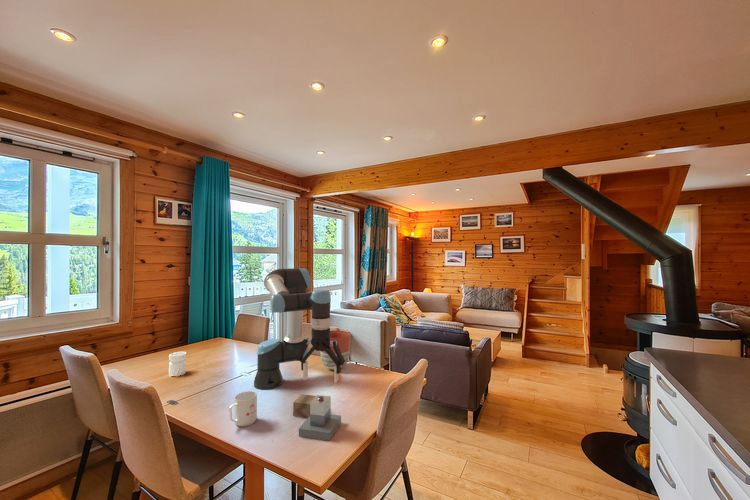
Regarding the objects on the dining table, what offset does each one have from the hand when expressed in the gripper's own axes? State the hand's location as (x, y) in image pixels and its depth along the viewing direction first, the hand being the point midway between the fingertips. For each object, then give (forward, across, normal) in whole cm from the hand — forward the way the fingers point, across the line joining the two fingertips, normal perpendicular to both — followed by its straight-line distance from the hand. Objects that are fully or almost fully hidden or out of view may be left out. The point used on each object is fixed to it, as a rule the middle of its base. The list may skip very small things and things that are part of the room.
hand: (320, 379), depth 125 cm
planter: (+21, -18, +65) cm, 70 cm away
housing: (+17, 0, 0) cm, 17 cm away
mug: (+20, -34, -4) cm, 40 cm away
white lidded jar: (+21, -107, +35) cm, 115 cm away
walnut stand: (+20, -12, +11) cm, 26 cm away
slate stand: (+20, 0, 0) cm, 20 cm away
